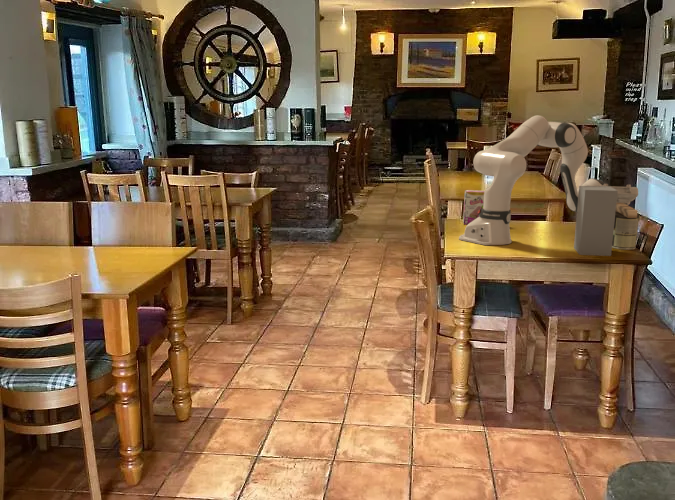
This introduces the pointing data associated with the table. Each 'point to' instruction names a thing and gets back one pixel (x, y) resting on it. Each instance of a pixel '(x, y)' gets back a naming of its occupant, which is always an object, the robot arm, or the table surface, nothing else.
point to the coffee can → (625, 232)
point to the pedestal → (595, 220)
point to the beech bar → (626, 210)
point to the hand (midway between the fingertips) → (617, 185)
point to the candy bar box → (472, 205)
